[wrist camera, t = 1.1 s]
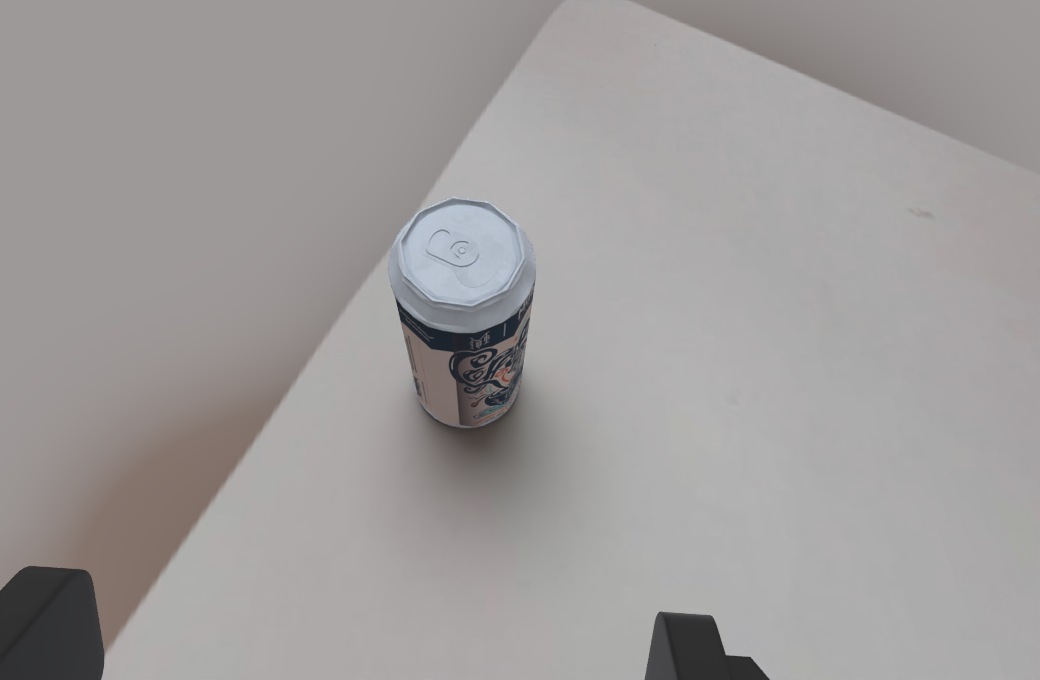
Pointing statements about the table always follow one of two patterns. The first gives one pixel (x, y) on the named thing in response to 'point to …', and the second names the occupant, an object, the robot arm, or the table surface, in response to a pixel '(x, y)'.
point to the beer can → (464, 307)
